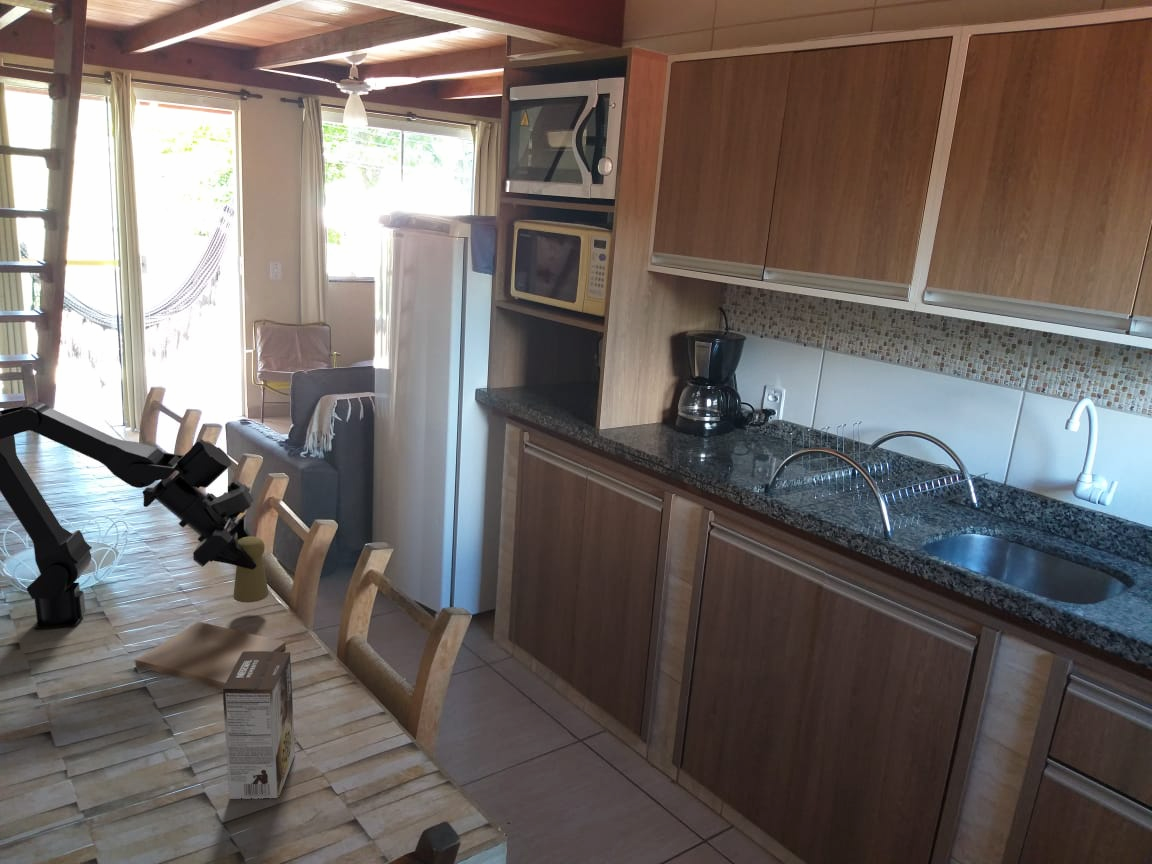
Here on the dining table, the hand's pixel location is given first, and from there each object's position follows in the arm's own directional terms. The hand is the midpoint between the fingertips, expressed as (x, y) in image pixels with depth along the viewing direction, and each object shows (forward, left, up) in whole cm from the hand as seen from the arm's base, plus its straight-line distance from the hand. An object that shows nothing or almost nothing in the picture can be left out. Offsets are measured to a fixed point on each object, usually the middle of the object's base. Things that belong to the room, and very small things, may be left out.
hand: (257, 561), depth 151 cm
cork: (-1, 0, -7) cm, 7 cm away
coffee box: (+4, -48, -10) cm, 49 cm away
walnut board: (-6, -15, -10) cm, 19 cm away
